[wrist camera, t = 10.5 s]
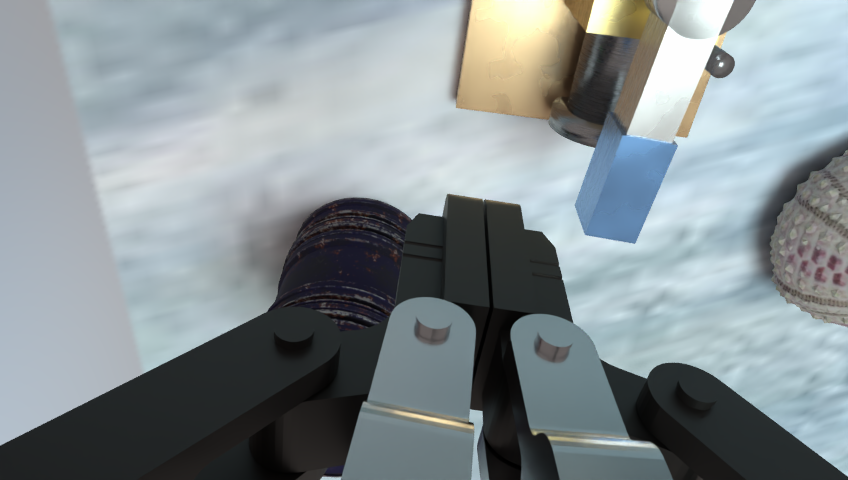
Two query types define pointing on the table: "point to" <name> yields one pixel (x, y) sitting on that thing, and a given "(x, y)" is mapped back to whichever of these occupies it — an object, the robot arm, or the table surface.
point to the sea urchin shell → (815, 245)
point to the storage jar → (346, 266)
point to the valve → (560, 61)
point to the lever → (650, 113)
